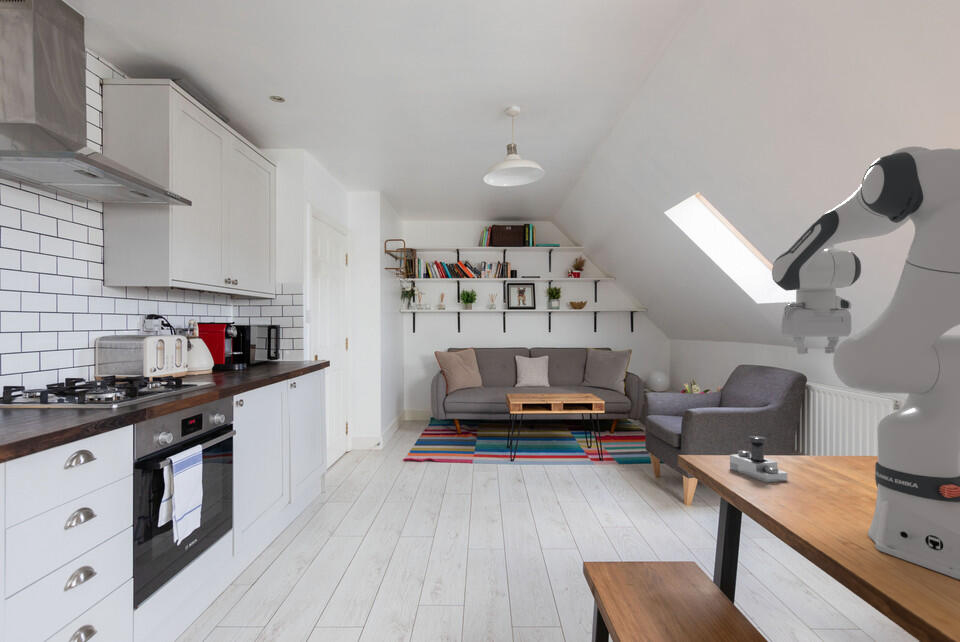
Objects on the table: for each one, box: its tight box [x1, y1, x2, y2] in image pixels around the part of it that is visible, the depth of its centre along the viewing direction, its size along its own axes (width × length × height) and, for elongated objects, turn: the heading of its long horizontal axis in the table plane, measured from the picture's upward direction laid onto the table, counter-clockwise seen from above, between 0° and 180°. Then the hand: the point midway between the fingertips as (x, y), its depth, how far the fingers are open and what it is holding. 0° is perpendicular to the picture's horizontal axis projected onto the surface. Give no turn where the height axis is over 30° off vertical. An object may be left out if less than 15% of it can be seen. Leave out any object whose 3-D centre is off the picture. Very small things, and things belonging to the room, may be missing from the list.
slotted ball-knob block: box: [729, 450, 788, 484], centre depth 126 cm, size 12×7×5 cm, turn 14°
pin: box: [747, 435, 768, 462], centre depth 126 cm, size 4×4×10 cm
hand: (816, 353), depth 125 cm, fingers open, 8 cm apart
